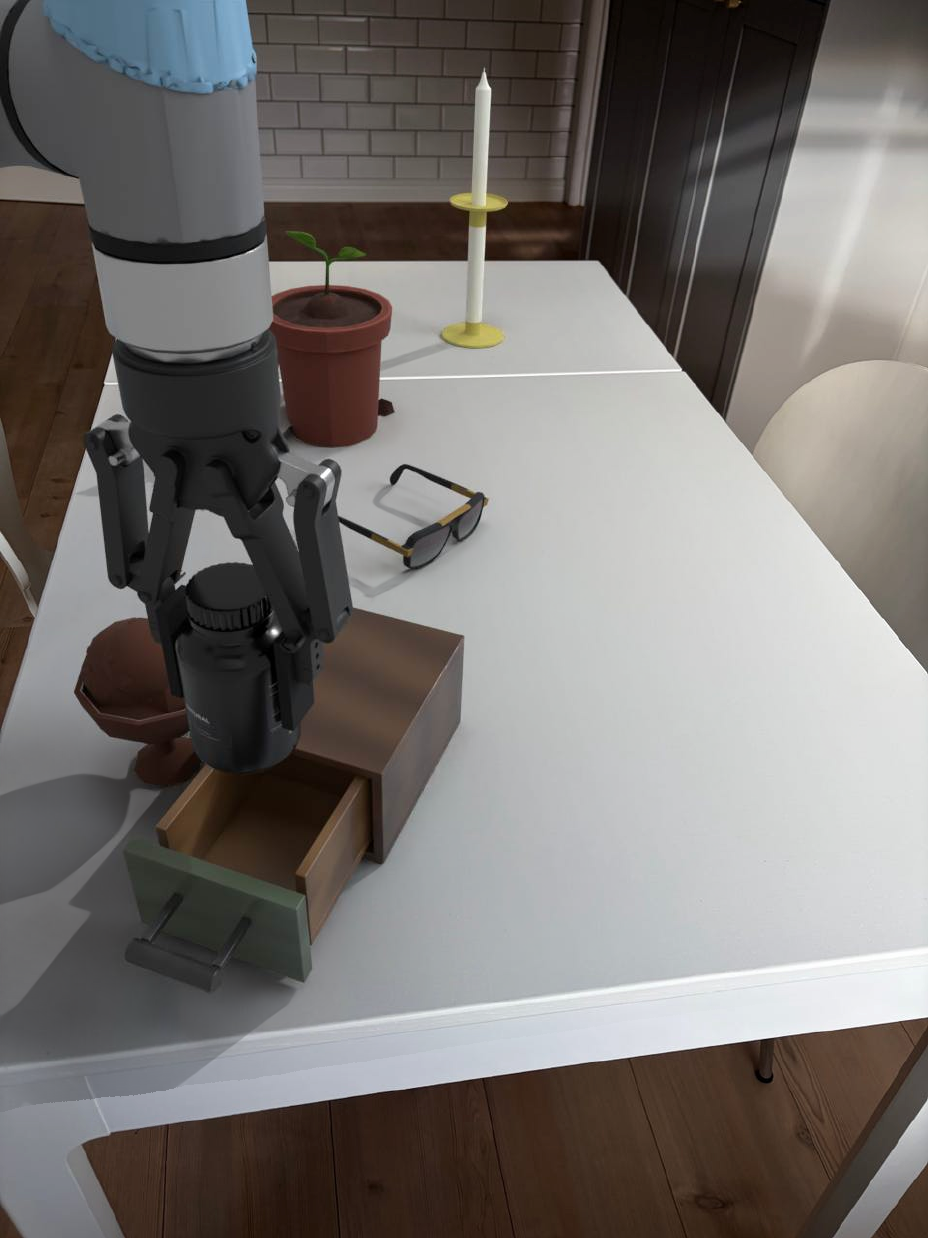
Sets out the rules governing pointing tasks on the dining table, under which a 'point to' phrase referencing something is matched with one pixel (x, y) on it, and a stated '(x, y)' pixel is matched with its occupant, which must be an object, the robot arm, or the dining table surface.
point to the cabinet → (385, 712)
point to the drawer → (249, 868)
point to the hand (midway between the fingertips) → (242, 698)
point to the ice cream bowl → (137, 701)
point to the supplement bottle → (232, 671)
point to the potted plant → (331, 356)
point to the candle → (477, 233)
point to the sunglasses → (434, 537)
